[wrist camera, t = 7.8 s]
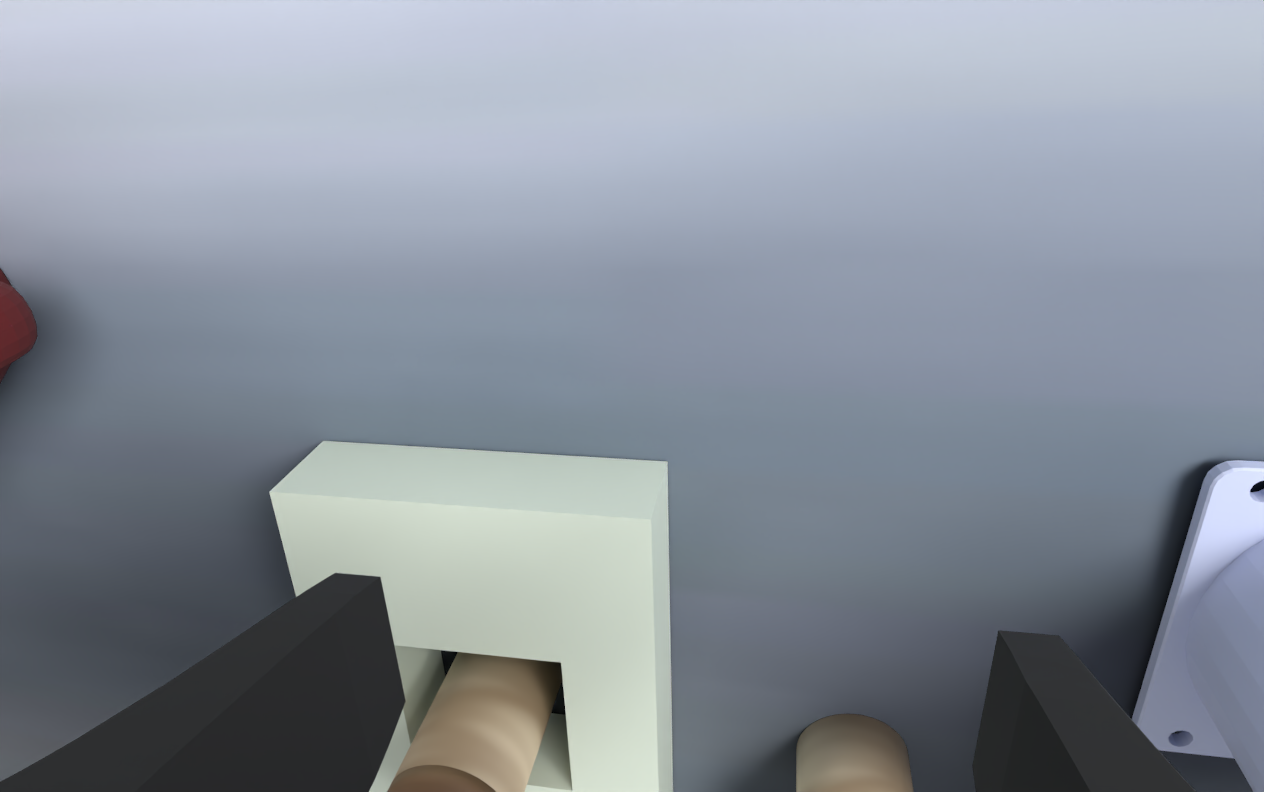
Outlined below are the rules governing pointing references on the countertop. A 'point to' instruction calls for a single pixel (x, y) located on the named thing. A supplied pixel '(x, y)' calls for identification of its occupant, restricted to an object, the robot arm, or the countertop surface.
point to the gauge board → (507, 586)
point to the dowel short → (851, 756)
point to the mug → (14, 326)
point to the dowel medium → (482, 727)
